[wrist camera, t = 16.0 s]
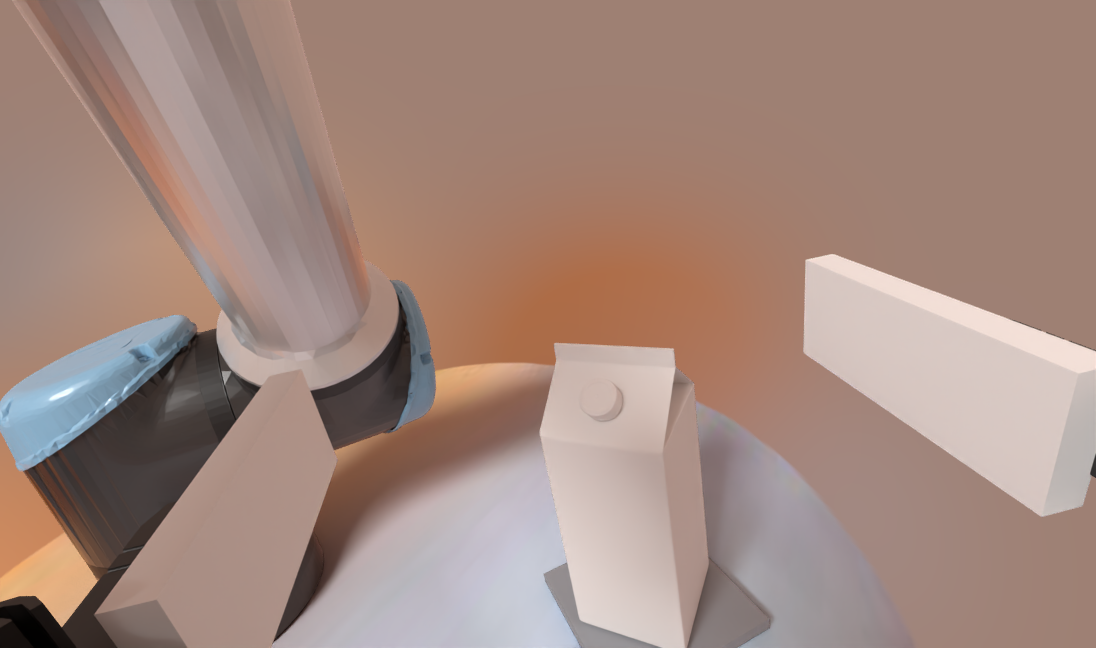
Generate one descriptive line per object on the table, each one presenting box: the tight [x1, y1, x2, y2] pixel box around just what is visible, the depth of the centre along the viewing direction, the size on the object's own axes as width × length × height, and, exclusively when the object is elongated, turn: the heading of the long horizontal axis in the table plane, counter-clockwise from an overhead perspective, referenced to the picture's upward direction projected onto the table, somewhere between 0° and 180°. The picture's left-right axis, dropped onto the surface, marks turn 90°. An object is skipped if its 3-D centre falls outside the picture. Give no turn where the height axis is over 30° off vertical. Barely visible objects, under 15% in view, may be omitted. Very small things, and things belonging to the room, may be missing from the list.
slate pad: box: [544, 557, 770, 648], centre depth 36 cm, size 11×11×1 cm
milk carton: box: [539, 343, 709, 648], centre depth 33 cm, size 7×7×19 cm
